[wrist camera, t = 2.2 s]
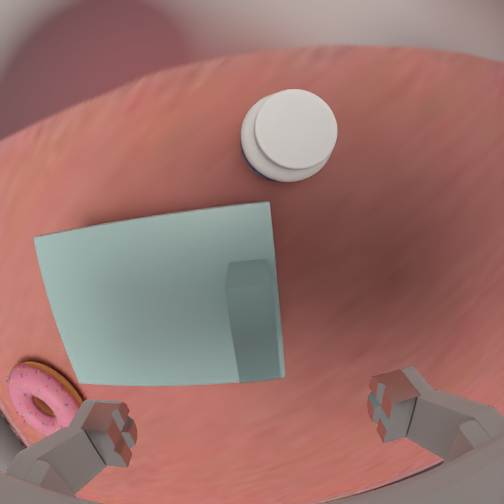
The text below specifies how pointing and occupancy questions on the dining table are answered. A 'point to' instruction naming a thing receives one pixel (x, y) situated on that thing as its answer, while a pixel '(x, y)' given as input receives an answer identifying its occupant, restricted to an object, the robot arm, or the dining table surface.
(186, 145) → the dining table surface
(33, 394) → the doughnut
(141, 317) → the lid
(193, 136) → the dining table surface
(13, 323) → the dining table surface
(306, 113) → the pill bottle
